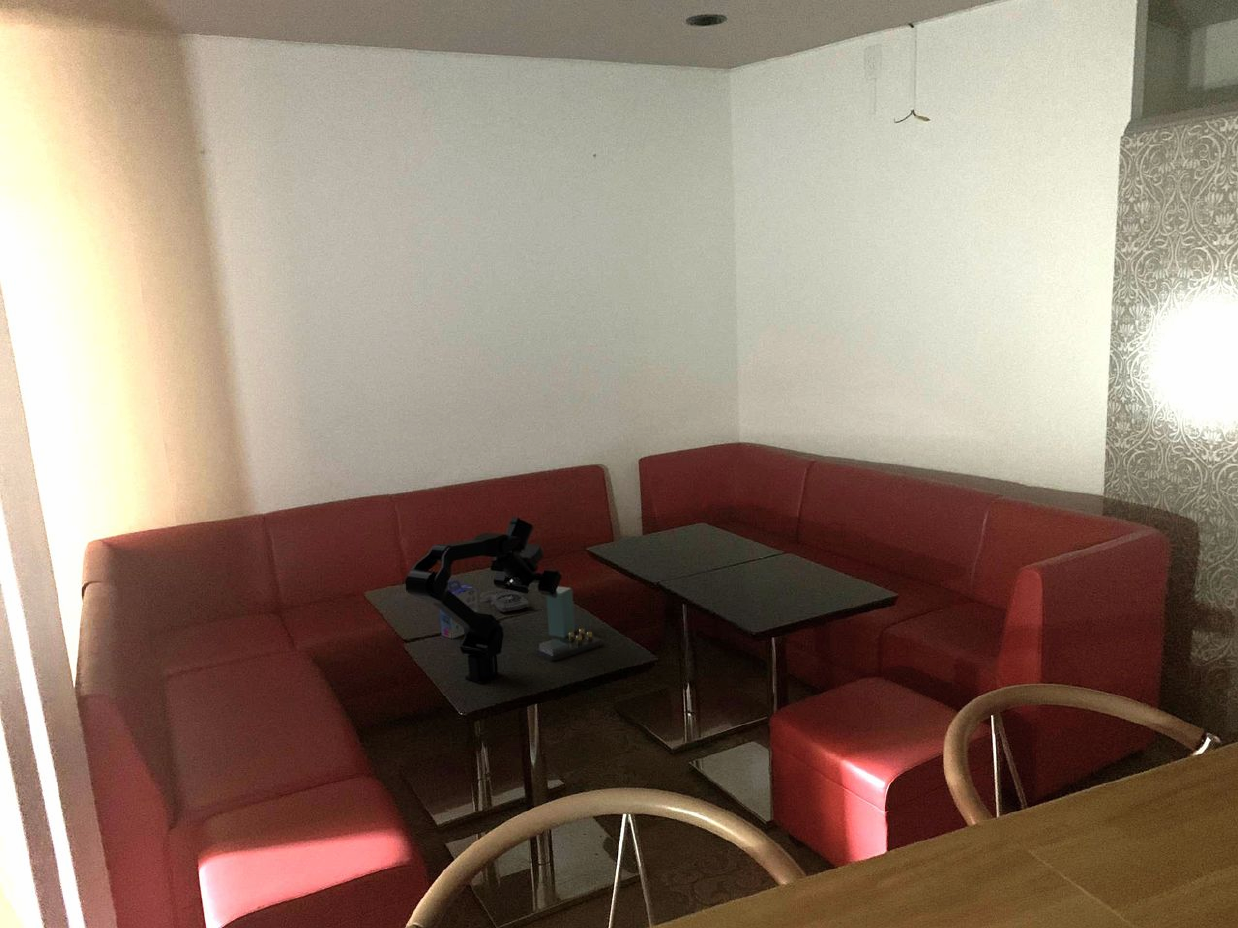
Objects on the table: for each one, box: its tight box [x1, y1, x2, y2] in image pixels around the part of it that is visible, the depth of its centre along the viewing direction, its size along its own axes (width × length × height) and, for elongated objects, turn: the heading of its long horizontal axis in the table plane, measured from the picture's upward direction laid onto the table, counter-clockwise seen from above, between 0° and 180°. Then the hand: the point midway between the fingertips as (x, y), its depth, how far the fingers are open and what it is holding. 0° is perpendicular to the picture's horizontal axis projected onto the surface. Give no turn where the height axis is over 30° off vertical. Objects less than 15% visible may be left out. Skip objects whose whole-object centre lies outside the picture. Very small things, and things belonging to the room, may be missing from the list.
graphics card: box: [479, 588, 531, 613], centre depth 285 cm, size 17×4×12 cm
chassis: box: [533, 627, 603, 662], centre depth 246 cm, size 16×8×4 cm, turn 129°
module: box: [546, 585, 576, 638], centre depth 257 cm, size 5×5×12 cm
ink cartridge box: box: [438, 579, 479, 639], centre depth 262 cm, size 10×6×14 cm, turn 137°
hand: (542, 594), depth 250 cm, fingers open, 9 cm apart
